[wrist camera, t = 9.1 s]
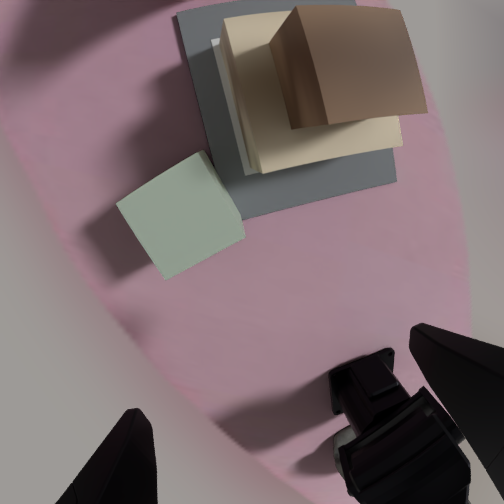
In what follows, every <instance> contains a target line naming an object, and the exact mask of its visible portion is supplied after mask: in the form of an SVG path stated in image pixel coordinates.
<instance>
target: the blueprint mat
mask: <svg viewBox="0 0 504 504" xmlns="http://www.w3.org/2000/svg"><path fill="white" fill-rule="evenodd" d="M296 5H352V6H357V5H356V2H355V0H239V1H232V2H226V3H220V4H214V5H209V6H204V7H199V8H194V9H190V10H185V11H181V12H177V13H176V14H177V18H178V22H179V26H180V30H181V35H182V39H183V43H184V47H185V51H186V55H187V59H188V63H189V67H190V72H191V76H192V80H193V84H194V88H195V92H196V96H197V100H198V104H199V108H200V112H201V115H202V119H203V123H204V127H205V131H206V135H207V139H208V143H209V147H210V151H211V154H212V158H213V162H214V166H215V170H216V172H217V174H218V175H219V177H220V179H221V181H222V183H223V184H224V186H225V188H226V190H227V191H228V193H229V195H230V197H231V198H232V200H233V202H234V204H235V206H236V207H237V209H238V211H239V213H240V214H241V219H242V220H245V219H248V218H252V217H256V216H259V215H263V214H267V213H271V212H275V211H278V210H282V209H286V208H290V207H294V206H298V205H302V204H306V203H310V202H314V201H318V200H322V199H326V198H330V197H334V196H338V195H342V194H346V193H350V192H355V191H359V190H363V189H367V188H372V187H376V186H380V185H385V184H389V183H393V182H397V178H396V169H395V162H394V155H393V148H387V149H381V150H375V151H369V152H363V153H358V154H352V155H347V156H342V157H337V158H332V159H327V160H322V161H317V162H312V163H308V164H303V165H298V166H294V167H290V168H285V169H281V170H277V171H272V172H268V173H264V174H263V173H260V172H258V171H256V170H254V169H252V168H250V165H249V161H248V156H247V152H246V148H245V144H244V140H243V136H242V132H241V128H240V124H239V120H238V116H237V112H236V108H235V104H234V100H233V96H232V92H231V88H230V84H229V80H228V76H227V72H226V69H225V65H224V61H223V57H222V53H221V49H220V46H219V41H220V36H221V30H222V25H223V20H224V19H225V18H231V17H237V16H244V15H251V14H259V13H268V12H280V11H292V10H293V9H294V7H295V6H296Z"/></svg>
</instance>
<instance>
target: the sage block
mask: <svg viewBox="0 0 504 504" xmlns="http://www.w3.org/2000/svg"><path fill="white" fill-rule="evenodd" d="M116 205H117V207H118V208H119V210H120V212H121V213H122V215H123V216H124V218H125V220H126V221H127V223H128V224H129V226H130V228H131V229H132V231H133V232H134V234H135V235H136V237H137V238H138V240H139V242H140V243H141V245H142V246H143V248H144V249H145V251H146V252H147V254H148V255H149V257H150V258H151V260H152V261H153V263H154V264H155V266H156V267H157V268H158V270H159V271H160V273H161V274H162V276H163V277H164V279H165V280H168V279H170V278H171V277H173V276H175V275H177V274H179V273H181V272H182V271H184V270H186V269H188V268H190V267H192V266H193V265H195V264H197V263H199V262H201V261H203V260H204V259H206V258H208V257H210V256H212V255H214V254H216V253H217V252H219V251H221V250H223V249H225V248H227V247H229V246H230V245H232V244H234V243H236V242H238V241H240V240H242V239H244V238H245V237H246V236H245V232H244V227H243V223H242V219H241V214H240V213H239V211H238V209H237V207H236V206H235V204H234V202H233V200H232V198H231V197H230V195H229V193H228V191H227V190H226V188H225V186H224V184H223V183H222V181H221V179H220V177H219V175H218V174H217V172H216V170H215V168H214V167H213V165H212V163H211V161H210V160H209V158H208V156H207V154H206V153H205V151H204V150H202V151H199V152H197V153H195V154H193V155H192V156H190V157H188V158H187V159H185V160H183V161H181V162H180V163H178V164H176V165H175V166H173V167H171V168H170V169H168V170H167V171H165V172H163V173H162V174H160V175H158V176H157V177H155V178H154V179H152V180H151V181H149V182H147V183H146V184H144V185H143V186H141V187H140V188H138V189H137V190H135V191H134V192H132V193H131V194H129V195H128V196H126V197H125V198H123V199H122V200H120V201H119V202H117V203H116Z"/></svg>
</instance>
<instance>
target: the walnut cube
mask: <svg viewBox="0 0 504 504" xmlns="http://www.w3.org/2000/svg"><path fill="white" fill-rule="evenodd" d="M269 46H270V49H271V53H272V56H273V60H274V63H275V67H276V71H277V75H278V78H279V82H280V86H281V90H282V94H283V98H284V102H285V106H286V110H287V114H288V118H289V122H290V126H291V130H293V129H299V128H306V127H313V126H321V125H329V124H335V123H341V122H348V121H355V120H363V119H371V118H379V117H388V116H398V115H409V114H422V113H428V111H427V105H426V100H425V95H424V91H423V86H422V82H421V78H420V74H419V70H418V66H417V62H416V58H415V55H414V51H413V48H412V44H411V41H410V38H409V34H408V31H407V28H406V25H405V22H404V20H403V17H402V14H401V11H400V10H396V9H388V8H379V7H368V6H352V5H296V6H295V7H294V9H293V10H292V11H291V13H290V14H289V15H288V17H287V18H286V19H285V21H284V22H283V24H282V25H281V26H280V28H279V29H278V30H277V32H276V33H275V35H274V36H273V38H272V39H271V40H270V42H269Z"/></svg>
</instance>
